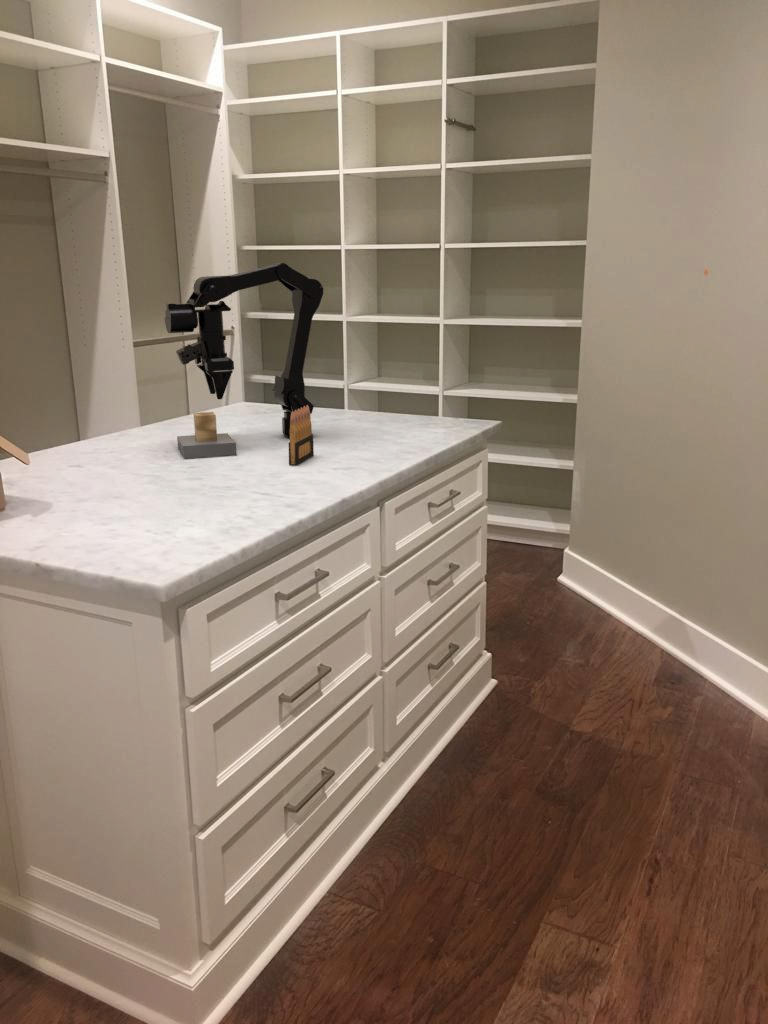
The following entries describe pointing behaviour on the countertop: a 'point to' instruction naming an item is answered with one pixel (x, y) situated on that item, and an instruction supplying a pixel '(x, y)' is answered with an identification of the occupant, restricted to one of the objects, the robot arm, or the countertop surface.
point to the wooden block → (205, 426)
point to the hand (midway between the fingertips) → (216, 396)
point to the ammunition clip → (300, 436)
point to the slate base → (206, 447)
